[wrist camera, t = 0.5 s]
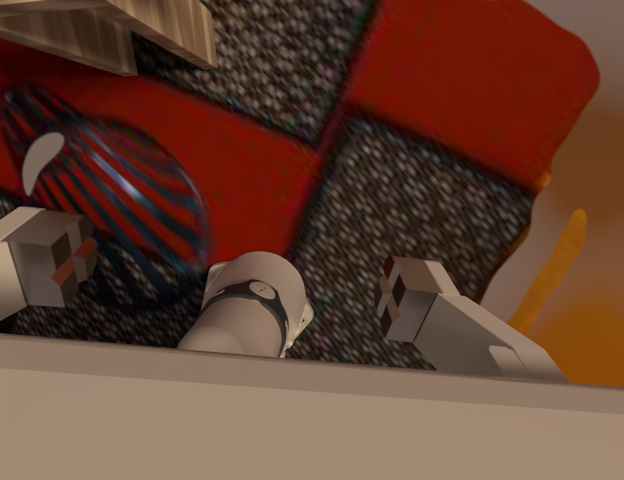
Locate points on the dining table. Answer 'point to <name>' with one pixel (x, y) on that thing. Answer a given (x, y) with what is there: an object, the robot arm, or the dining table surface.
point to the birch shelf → (110, 30)
